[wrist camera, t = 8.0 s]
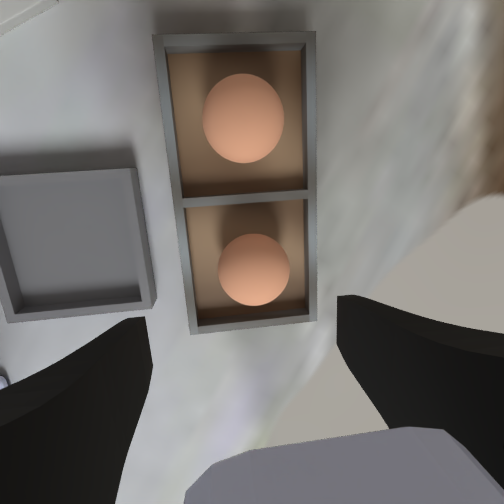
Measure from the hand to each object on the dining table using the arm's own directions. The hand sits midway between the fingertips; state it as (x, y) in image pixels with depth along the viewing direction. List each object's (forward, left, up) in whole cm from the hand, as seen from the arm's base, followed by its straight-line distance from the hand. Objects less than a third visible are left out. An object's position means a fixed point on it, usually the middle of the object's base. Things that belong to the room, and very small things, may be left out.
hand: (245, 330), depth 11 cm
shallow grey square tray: (+2, +9, -8) cm, 13 cm away
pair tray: (+4, -1, -8) cm, 9 cm away
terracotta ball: (0, -1, -8) cm, 8 cm away
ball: (+8, -1, -8) cm, 11 cm away
